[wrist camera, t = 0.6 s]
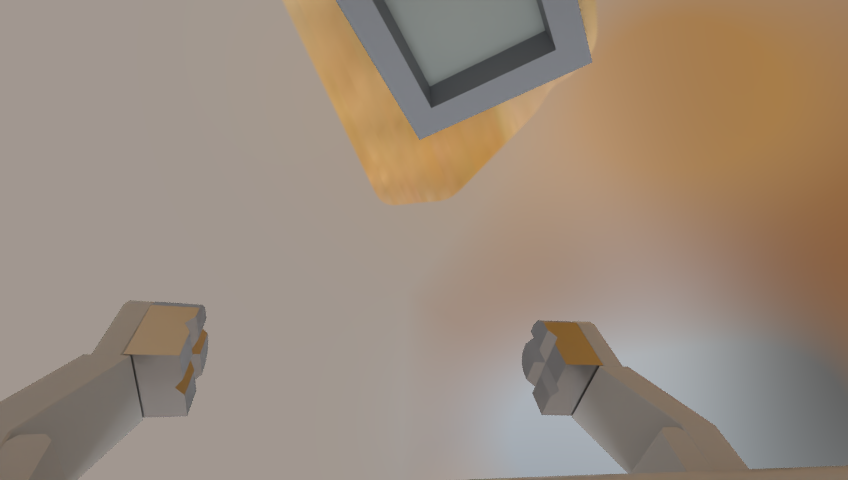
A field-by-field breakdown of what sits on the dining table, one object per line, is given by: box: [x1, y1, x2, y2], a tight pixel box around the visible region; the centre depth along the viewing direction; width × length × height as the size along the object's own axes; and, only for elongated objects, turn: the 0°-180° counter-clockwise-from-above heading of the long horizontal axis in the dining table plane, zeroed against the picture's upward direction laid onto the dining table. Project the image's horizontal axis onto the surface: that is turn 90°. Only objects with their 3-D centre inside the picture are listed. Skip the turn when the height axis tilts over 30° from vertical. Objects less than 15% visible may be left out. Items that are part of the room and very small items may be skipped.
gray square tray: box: [336, 0, 592, 140], centre depth 45 cm, size 20×20×6 cm
